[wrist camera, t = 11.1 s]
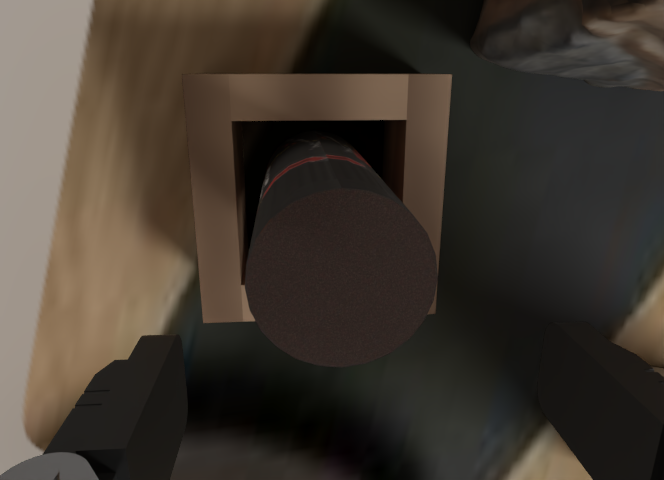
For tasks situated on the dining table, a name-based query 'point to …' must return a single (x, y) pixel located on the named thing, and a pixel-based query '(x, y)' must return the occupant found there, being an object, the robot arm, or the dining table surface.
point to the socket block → (303, 105)
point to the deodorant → (335, 257)
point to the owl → (576, 39)
